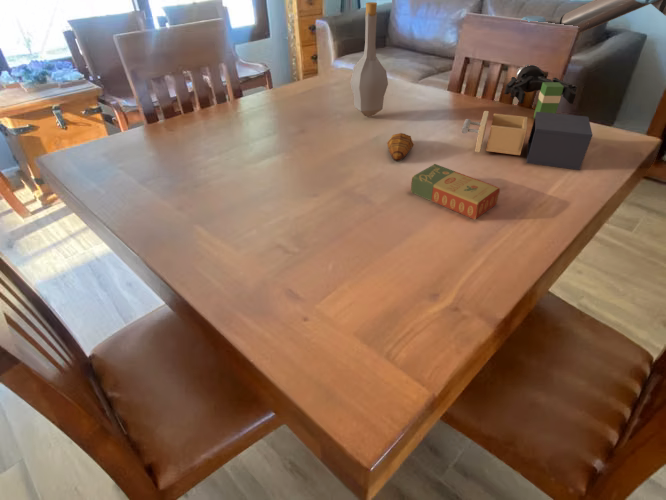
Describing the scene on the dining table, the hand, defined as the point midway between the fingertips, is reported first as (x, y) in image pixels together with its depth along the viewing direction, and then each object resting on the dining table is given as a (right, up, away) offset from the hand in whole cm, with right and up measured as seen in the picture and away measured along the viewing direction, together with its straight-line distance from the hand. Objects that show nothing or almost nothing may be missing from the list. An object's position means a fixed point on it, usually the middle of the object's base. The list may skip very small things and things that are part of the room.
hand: (547, 98), depth 121 cm
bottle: (-50, -3, +8) cm, 51 cm away
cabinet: (-7, -20, -16) cm, 27 cm away
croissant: (-44, -18, -12) cm, 49 cm away
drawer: (-21, -16, -12) cm, 29 cm away
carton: (-36, -32, -31) cm, 57 cm away
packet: (0, -5, +3) cm, 6 cm away
